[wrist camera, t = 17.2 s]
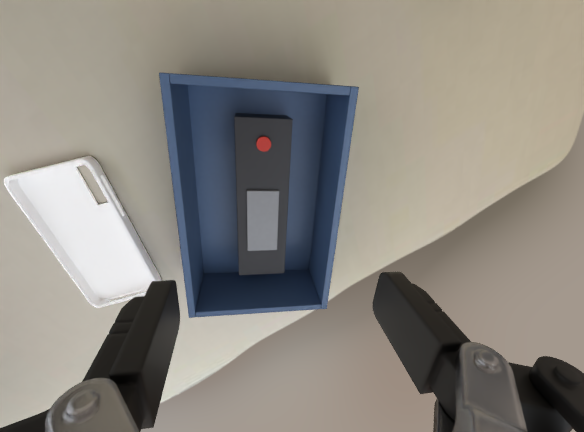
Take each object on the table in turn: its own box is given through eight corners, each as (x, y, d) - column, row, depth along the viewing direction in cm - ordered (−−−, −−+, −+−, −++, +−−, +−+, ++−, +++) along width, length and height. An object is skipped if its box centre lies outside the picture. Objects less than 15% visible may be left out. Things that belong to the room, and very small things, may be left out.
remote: (239, 256, 31) (238, 277, 27) (235, 112, 24) (233, 116, 21) (280, 255, 31) (284, 275, 28) (287, 115, 25) (293, 119, 22)
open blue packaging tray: (199, 275, 31) (188, 317, 25) (180, 76, 23) (158, 72, 17) (312, 270, 33) (326, 308, 28) (332, 87, 25) (358, 86, 19)
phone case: (10, 174, 24) (99, 301, 31) (-2, 179, 23) (93, 310, 29) (94, 154, 24) (164, 283, 31) (86, 157, 23) (161, 291, 30)
